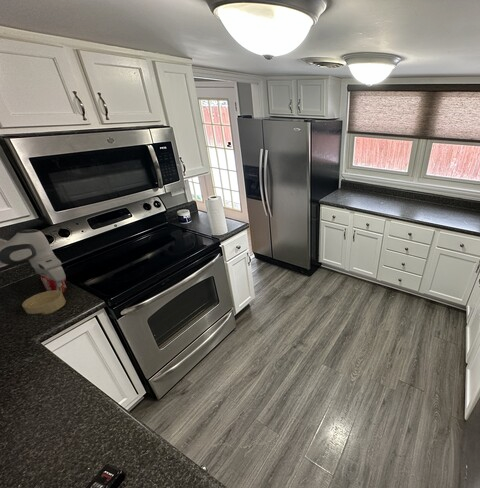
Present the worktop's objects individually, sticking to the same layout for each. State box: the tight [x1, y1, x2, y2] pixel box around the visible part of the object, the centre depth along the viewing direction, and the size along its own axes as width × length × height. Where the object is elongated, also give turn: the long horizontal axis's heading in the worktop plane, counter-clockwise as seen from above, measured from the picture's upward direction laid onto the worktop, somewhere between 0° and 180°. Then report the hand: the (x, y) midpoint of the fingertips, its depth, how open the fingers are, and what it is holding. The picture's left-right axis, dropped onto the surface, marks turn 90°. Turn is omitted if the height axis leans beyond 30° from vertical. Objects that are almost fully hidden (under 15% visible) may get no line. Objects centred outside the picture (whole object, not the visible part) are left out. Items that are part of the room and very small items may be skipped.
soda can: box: [40, 273, 68, 293], centre depth 133 cm, size 7×7×12 cm
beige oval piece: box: [21, 290, 67, 316], centre depth 123 cm, size 13×13×6 cm
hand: (55, 284), depth 134 cm, fingers closed on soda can, 7 cm apart
